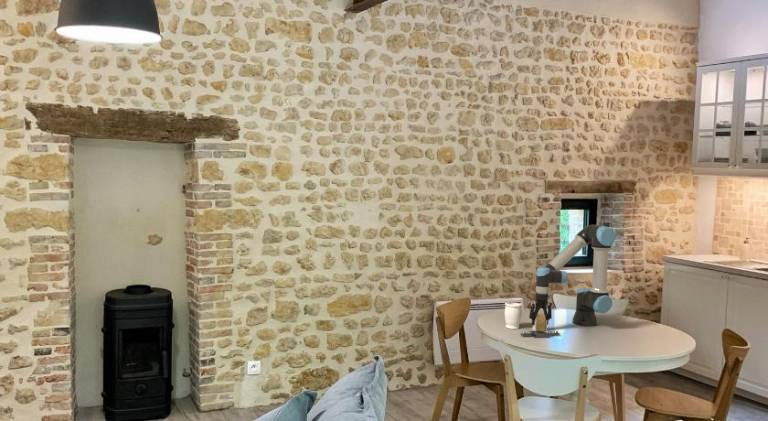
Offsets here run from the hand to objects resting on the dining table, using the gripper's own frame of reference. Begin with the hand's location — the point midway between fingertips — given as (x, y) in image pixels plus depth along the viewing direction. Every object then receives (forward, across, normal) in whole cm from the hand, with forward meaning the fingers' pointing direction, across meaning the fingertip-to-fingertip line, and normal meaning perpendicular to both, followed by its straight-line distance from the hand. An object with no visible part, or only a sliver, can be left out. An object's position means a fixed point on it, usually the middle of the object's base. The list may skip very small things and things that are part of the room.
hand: (539, 330), depth 410 cm
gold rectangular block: (0, 0, 0) cm, 0 cm away
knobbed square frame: (0, +7, +12) cm, 14 cm away
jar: (0, +14, -9) cm, 17 cm away
